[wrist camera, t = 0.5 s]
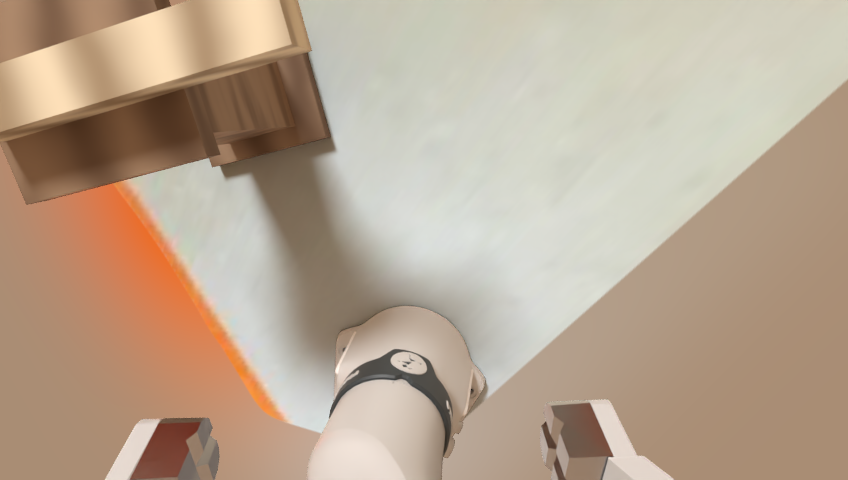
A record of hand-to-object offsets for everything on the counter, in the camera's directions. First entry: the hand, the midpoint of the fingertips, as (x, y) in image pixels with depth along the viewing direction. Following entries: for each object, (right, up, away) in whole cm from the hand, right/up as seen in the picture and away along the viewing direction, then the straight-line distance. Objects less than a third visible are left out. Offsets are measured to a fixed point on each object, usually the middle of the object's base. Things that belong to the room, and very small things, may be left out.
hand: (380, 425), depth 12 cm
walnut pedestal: (-18, +20, +43) cm, 51 cm away
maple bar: (-16, +15, +18) cm, 29 cm away
